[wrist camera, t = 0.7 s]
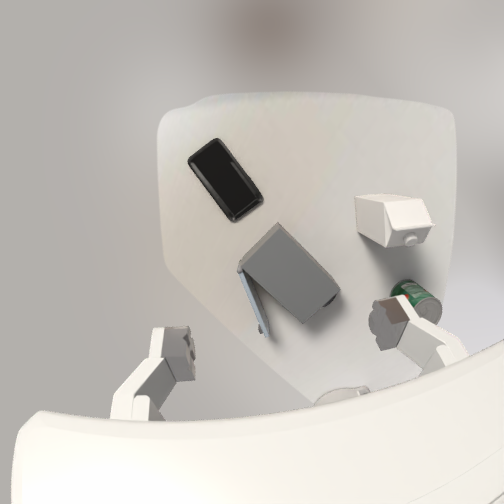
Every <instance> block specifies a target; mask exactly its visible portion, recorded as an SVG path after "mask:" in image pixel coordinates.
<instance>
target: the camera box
mask: <svg viewBox="0 0 504 504" xmlns="http://www.w3.org/2000/svg"><path fill="white" fill-rule="evenodd" d="M241 268H242V269H243V270H245V271H246V272H247V273H248V274H249V275H250V276H251V277H252V278H253V279H254V280H255V281H256V282H257V283H259V284H260V285H261V286H262V287H263V288H264V289H265V290H266V291H267V292H268V293H269V294H271V295H272V296H273V297H274V298H275V299H276V300H277V301H278V302H279V303H280V304H281V305H283V306H284V307H285V308H286V309H287V310H288V311H289V312H290V313H291V314H292V315H293V316H295V317H296V318H297V319H298V320H299V321H300V322H301V323H302V324H303V323H304V322H306V321H307V320H308V319H309V318H310V317H311V316H312V315H313V314H315V313H316V312H317V311H318V310H319V309H320V308H321V307H325V306H327V305H328V304H330V303H331V302H332V301H333V299H334V298H335V296H336V294H337V293H338V292H339V291H340V290H341V289H340V288H339V286H338V285H337V283H336V282H335V280H334V279H333V277H332V276H331V275H330V274H329V273H328V272H327V271H326V270H325V269H324V268H323V267H322V266H321V265H320V264H319V263H318V262H317V261H316V260H315V259H314V258H313V257H312V256H311V255H310V254H309V253H308V252H307V251H306V250H305V249H304V248H303V247H302V246H301V245H300V244H299V243H298V242H297V241H296V240H295V239H294V238H293V237H292V236H291V235H290V234H289V233H288V232H287V231H286V230H285V229H284V228H283V227H282V226H281V225H280V224H279V223H278V222H277V223H276V224H275V225H274V226H273V227H272V228H271V229H270V230H269V231H268V232H267V233H266V234H265V235H264V236H263V237H262V238H261V239H260V240H259V241H258V242H257V243H256V244H255V245H254V246H253V247H252V248H251V249H250V250H249V251H248V252H247V253H246V254H245V255H244V256H243V259H242V263H241Z"/></svg>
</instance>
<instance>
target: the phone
mask: <svg viewBox="0 0 504 504" xmlns="http://www.w3.org/2000/svg"><path fill="white" fill-rule="evenodd" d="M188 165H189V166H190V168H191V169H192V170H193V172H194V173H195V174H196V176H197V177H198V178H199V180H200V181H201V182H202V184H203V185H204V186H205V188H206V189H207V190H208V192H209V193H210V195H211V196H212V197H213V199H214V200H215V201H216V203H217V204H218V205H219V207H220V208H221V209H222V211H223V212H224V213H225V215H226V216H227V218H228V219H230V220H236V219H237V218H239V217H240V216H241V215H243V214H244V213H245V212H247V211H248V210H250V209H251V208H252V207H254V206H255V205H257V204H258V203H259V202H261V200H262V195H261V193H260V192H259V190H258V188H256V186H255V184H254V183H253V181H251V178H250V177H249V176H248V175H247V174H246V173H245V171H244V170H243V168H242V167H241V166H240V164H239V163H238V162H237V160H236V159H235V158H234V156H233V155H232V154H231V152H230V151H229V150H228V148H227V147H226V146H225V144H224V143H223V142H222V141H221V140H220V139H218V138H215V139H213V140H211V141H210V142H209V143H207V144H206V145H205V146H203V147H202V148H201V149H200V150H198V151H197V152H196V153H194V154H193V155H192V156H190V157H189V159H188Z"/></svg>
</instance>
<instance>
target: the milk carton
mask: <svg viewBox="0 0 504 504" xmlns="http://www.w3.org/2000/svg"><path fill="white" fill-rule="evenodd" d="M355 207H356V220H357V231H358V232H359V233H361V234H363V235H365V236H366V237H368V238H370V239H371V240H373V241H375V242H377V243H378V244H380V245H382V246H383V247H385V248H390V247H397V246H404V245H406V246H407V247H411V246H414V245H415V244H418V243H423V242H424V241H425V239H426V237H427V235H428V233H429V231H430V229H431V227H432V226H436V224H433V223H432V221H431V219H430V216H429V214H428V212H427V209H426V207H425V204H424V202H423V200H422V199H418V198H412V197H405V196H399V195H392V194H374V195H362V196H355Z"/></svg>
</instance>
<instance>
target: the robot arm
mask: <svg viewBox="0 0 504 504" xmlns="http://www.w3.org/2000/svg"><path fill="white" fill-rule="evenodd" d="M372 308H373V309H374V310H373V311H372V312H371V313H370V315H369V327H370V330H371V332H372V333H373V334H375V335H376V336H377V337H376V342H377V344H378V346H379V348H380V350H381V351H383V350H387V349H391V348H395V347H397V349H398V350H399V351H401V352H402V353H403V354H404V355H406V356H407V357H408V358H409V359H411V360H412V361H413V362H415V363H416V364H417V365H418V366H420V367H421V368H422V369H423V370H422V372H421V373H420V375H419V376H418V377H417V378H414V379H412V380H409V381H406V382H403V383H400V384H397V385H394V386H390V387H387V388H384V389H381V390H377V391H374V392H370V391H369V389H368V388H367V387H366V386H363V387H359V388H355V389H350V388H344V389H338V390H334V391H331V392H329V393H327V394H325V395H324V396H322V397H321V398H320V399H319V400H318V401H317V402H316V403H315V404H314V406H312V407H307V408H301V409H296V410H290V411H284V412H277V413H270V414H264V415H255V416H247V417H237V418H226V419H212V420H192V421H166V420H165V419H164V418H163V416H162V415H161V413H160V412H159V409H160V407H161V406H162V404H163V403H164V401H165V400H166V398H167V397H168V395H169V394H170V392H171V390H172V389H173V387H174V386H175V384H176V382H179V381H192V380H195V365H194V360H195V356H196V355H195V345H194V341H193V338H191V331H190V328H189V326H181V327H163V328H154V329H153V332H152V338H151V345H150V352H149V358H146V359H144V361H143V362H142V363H141V364H140V365H139V366H138V367H137V369H136V370H135V371H134V372H133V373H132V374H131V375H130V376H129V377H128V379H127V380H126V381H125V382H124V383H123V384H122V385H121V386H120V388H119V389H118V390H117V391H116V392H115V393H114V396H113V402H112V409H111V415H110V419H106V418H95V417H86V416H78V415H71V414H63V413H57V412H51V411H44V410H43V411H38V412H37V413H36V414H35V415H33V416H32V417H31V418H30V419H29V420H28V421H27V422H26V423H25V424H24V425H23V426H22V428H21V429H20V430H19V432H18V435H17V439H16V444H15V450H14V457H13V466H12V480H11V501H12V502H11V504H504V339H503V340H501V341H500V342H498V343H496V344H494V345H492V346H490V347H488V348H486V349H484V350H482V351H480V352H478V353H475V354H473V355H471V356H470V355H469V354H468V352H467V350H466V349H465V348H464V346H463V344H462V343H461V341H460V340H459V338H457V337H456V336H454V335H452V334H450V333H449V332H447V331H445V330H444V329H442V328H440V327H438V326H436V325H435V324H433V323H431V322H429V321H428V320H426V319H424V318H419V316H418V315H417V313H416V311H415V310H414V308H413V307H412V306H411V304H410V303H409V301H408V300H407V298H406V297H405V296H404V295H399V296H394V297H389V298H384V299H379V300H375V301H374V302H373V305H372ZM364 393H365V394H364Z"/></svg>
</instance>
